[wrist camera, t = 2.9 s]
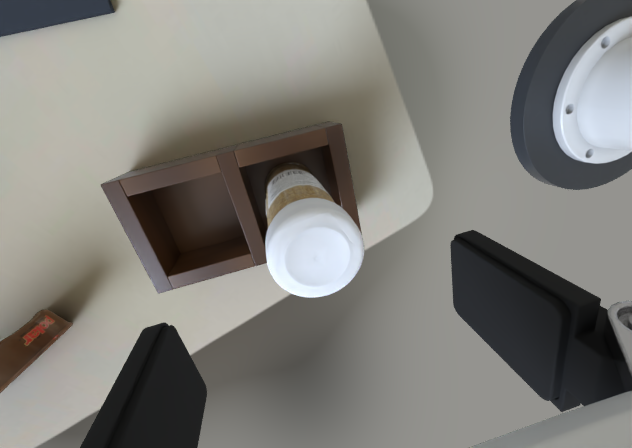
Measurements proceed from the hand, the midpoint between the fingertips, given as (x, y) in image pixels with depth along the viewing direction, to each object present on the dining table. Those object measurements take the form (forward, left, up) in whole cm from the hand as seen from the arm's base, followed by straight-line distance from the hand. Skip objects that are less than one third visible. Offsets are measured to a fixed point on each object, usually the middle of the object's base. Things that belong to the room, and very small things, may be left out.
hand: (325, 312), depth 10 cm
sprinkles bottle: (0, 0, -17) cm, 17 cm away
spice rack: (+3, 0, -18) cm, 18 cm away
